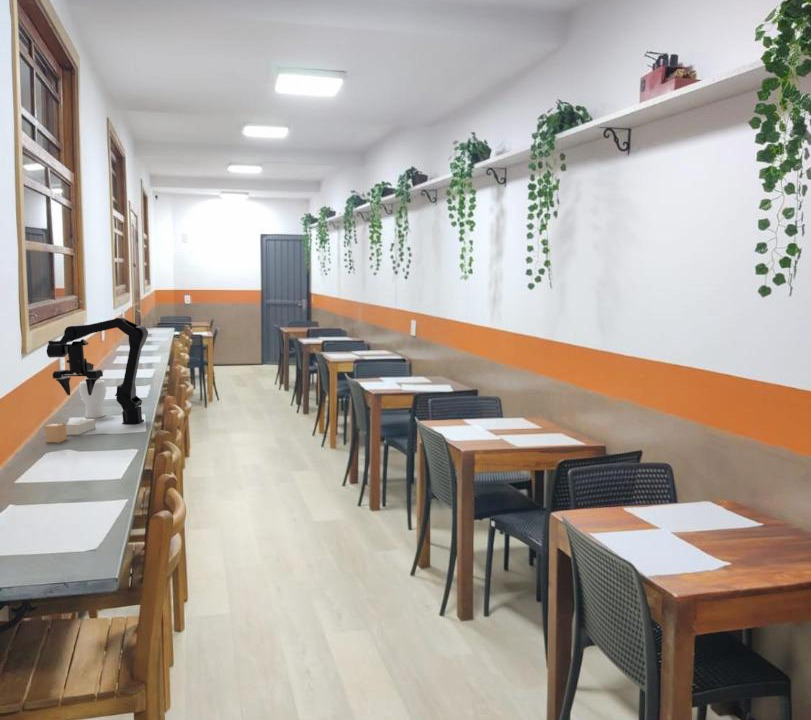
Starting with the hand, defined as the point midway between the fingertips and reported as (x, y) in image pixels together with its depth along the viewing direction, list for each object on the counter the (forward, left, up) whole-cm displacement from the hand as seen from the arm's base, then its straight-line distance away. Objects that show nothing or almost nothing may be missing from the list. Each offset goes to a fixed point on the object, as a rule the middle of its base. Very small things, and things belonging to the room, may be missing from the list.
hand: (79, 395), depth 301 cm
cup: (+4, -16, -12) cm, 21 cm away
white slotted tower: (-7, +12, -12) cm, 18 cm away
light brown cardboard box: (-7, +27, -12) cm, 31 cm away
